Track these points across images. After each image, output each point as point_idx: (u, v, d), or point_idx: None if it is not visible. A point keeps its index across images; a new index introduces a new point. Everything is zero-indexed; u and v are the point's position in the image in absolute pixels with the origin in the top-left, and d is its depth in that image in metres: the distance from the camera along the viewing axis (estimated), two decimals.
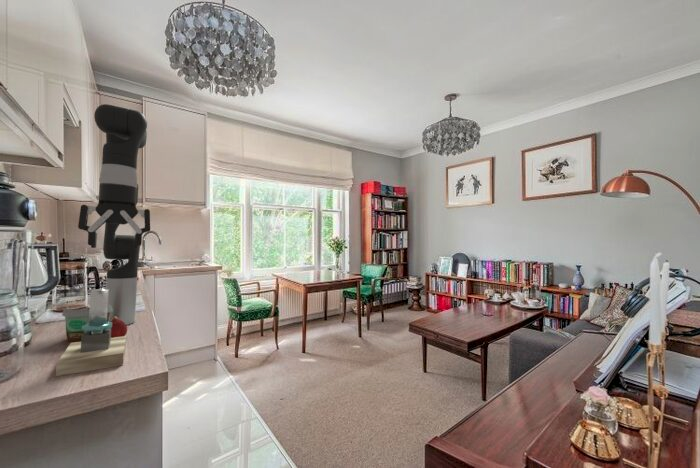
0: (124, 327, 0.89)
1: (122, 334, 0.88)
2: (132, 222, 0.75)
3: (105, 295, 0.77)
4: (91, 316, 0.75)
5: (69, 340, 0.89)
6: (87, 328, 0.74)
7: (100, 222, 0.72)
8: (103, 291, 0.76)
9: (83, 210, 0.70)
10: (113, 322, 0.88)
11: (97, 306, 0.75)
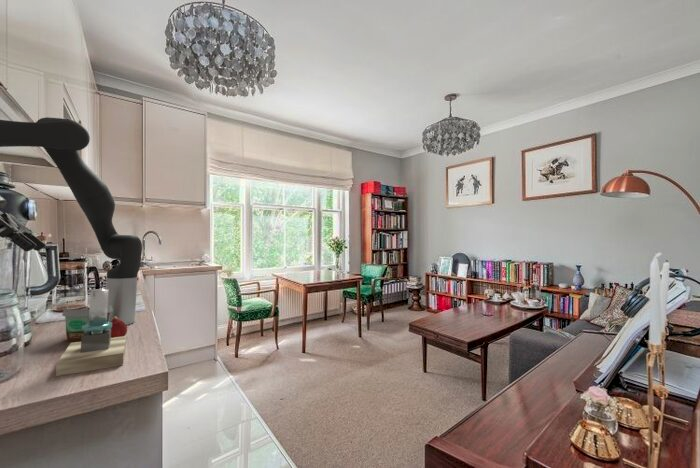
0: (124, 327, 0.89)
1: (122, 334, 0.88)
2: None
3: (105, 295, 0.77)
4: (91, 316, 0.75)
5: (69, 340, 0.89)
6: (87, 328, 0.74)
7: None
8: (103, 291, 0.76)
9: None
10: (113, 322, 0.88)
11: (97, 306, 0.75)
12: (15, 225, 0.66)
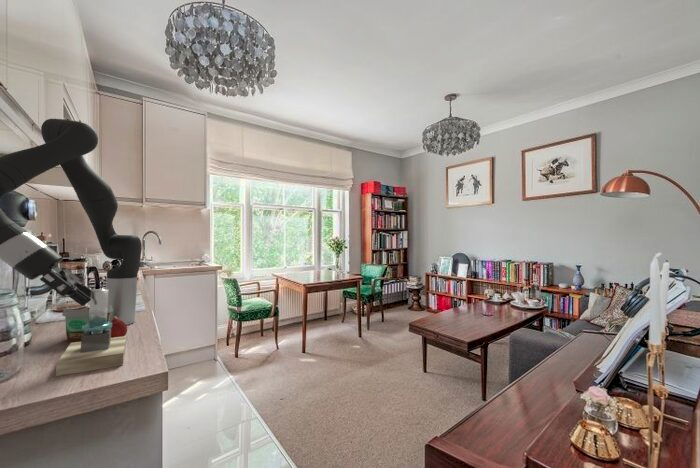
0: (124, 327, 0.89)
1: (122, 334, 0.88)
2: None
3: (105, 295, 0.77)
4: (91, 316, 0.75)
5: (69, 340, 0.89)
6: (87, 328, 0.74)
7: None
8: (103, 291, 0.76)
9: None
10: (113, 322, 0.88)
11: (97, 306, 0.75)
12: (72, 281, 0.72)
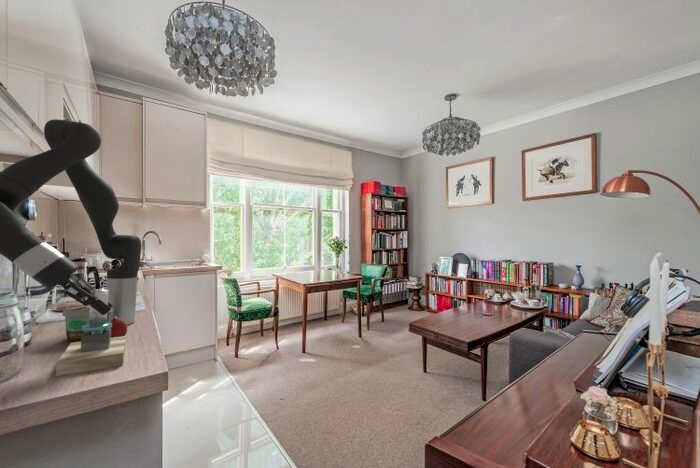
0: (124, 327, 0.89)
1: (122, 334, 0.88)
2: None
3: (105, 295, 0.77)
4: (91, 316, 0.75)
5: (69, 340, 0.89)
6: (87, 328, 0.74)
7: None
8: (103, 291, 0.76)
9: None
10: (113, 322, 0.88)
11: None
12: (92, 291, 0.75)
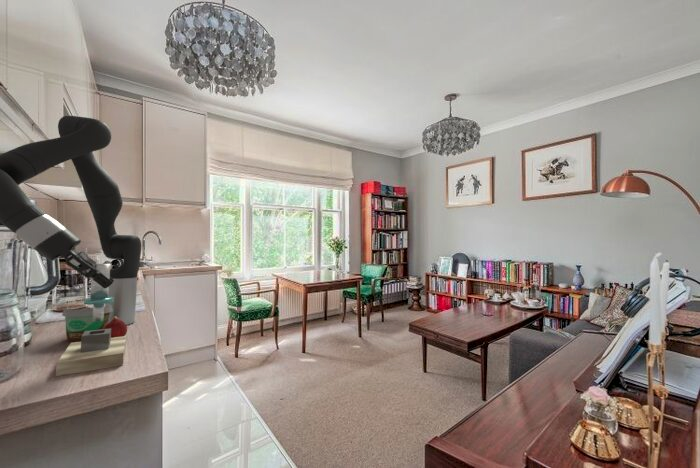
0: (124, 327, 0.89)
1: (122, 334, 0.88)
2: None
3: (107, 269, 0.77)
4: (93, 290, 0.75)
5: (69, 340, 0.89)
6: (89, 301, 0.74)
7: None
8: (105, 265, 0.77)
9: None
10: (113, 322, 0.88)
11: None
12: (94, 265, 0.75)
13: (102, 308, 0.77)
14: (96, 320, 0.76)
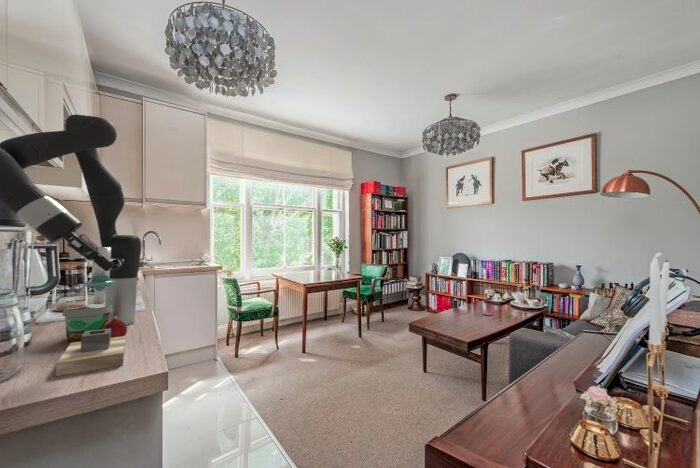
0: (124, 327, 0.89)
1: (122, 334, 0.88)
2: None
3: (108, 252, 0.77)
4: (94, 272, 0.76)
5: (69, 340, 0.89)
6: (90, 283, 0.74)
7: None
8: (106, 247, 0.77)
9: None
10: (113, 322, 0.88)
11: None
12: (95, 247, 0.75)
13: (103, 291, 0.77)
14: (97, 303, 0.76)
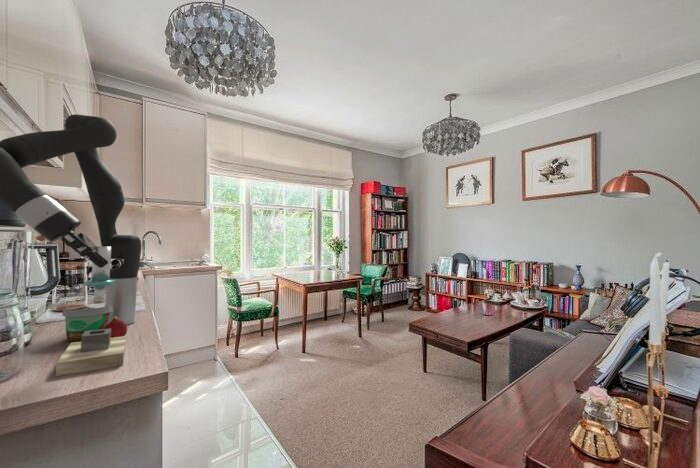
0: (124, 327, 0.89)
1: (122, 334, 0.88)
2: None
3: (108, 251, 0.77)
4: (94, 271, 0.76)
5: (69, 340, 0.89)
6: (90, 282, 0.74)
7: None
8: (106, 247, 0.77)
9: None
10: (113, 322, 0.88)
11: None
12: (90, 244, 0.74)
13: (103, 290, 0.77)
14: (97, 302, 0.76)
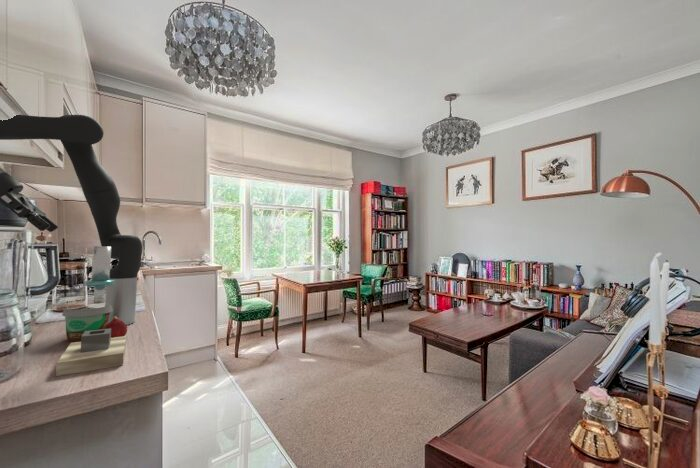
0: (124, 327, 0.89)
1: (122, 334, 0.88)
2: None
3: (108, 251, 0.77)
4: (94, 271, 0.76)
5: (69, 340, 0.89)
6: (90, 282, 0.74)
7: None
8: (106, 247, 0.77)
9: None
10: (113, 322, 0.88)
11: (100, 262, 0.76)
12: (31, 207, 0.74)
13: (103, 290, 0.77)
14: (97, 302, 0.76)
